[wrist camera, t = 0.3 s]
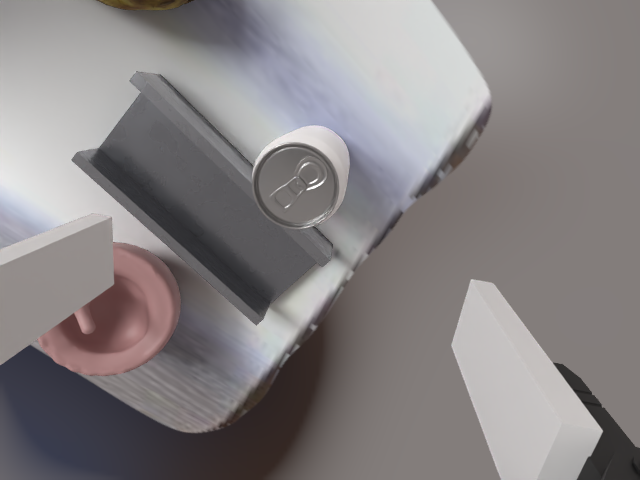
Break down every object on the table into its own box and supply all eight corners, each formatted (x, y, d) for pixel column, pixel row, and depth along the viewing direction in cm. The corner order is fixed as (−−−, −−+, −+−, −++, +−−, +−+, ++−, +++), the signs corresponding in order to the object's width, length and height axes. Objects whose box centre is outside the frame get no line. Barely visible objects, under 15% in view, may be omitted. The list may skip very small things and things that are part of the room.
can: (364, 163, 36) (367, 191, 24) (313, 209, 38) (294, 254, 26) (316, 108, 35) (296, 111, 23) (266, 158, 36) (224, 183, 25)
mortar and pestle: (222, 295, 42) (174, 362, 31) (144, 345, 45) (76, 422, 34) (146, 204, 39) (65, 242, 28) (69, 264, 42) (-31, 319, 31)
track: (99, 154, 38) (71, 160, 34) (160, 74, 35) (136, 71, 31) (265, 305, 42) (256, 325, 38) (332, 244, 39) (330, 260, 35)
